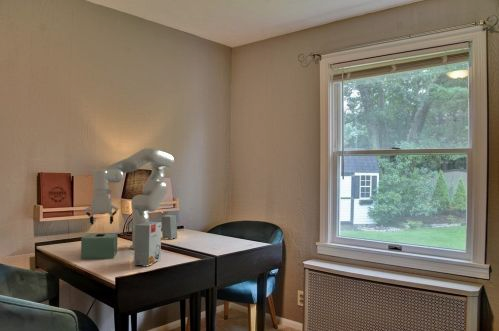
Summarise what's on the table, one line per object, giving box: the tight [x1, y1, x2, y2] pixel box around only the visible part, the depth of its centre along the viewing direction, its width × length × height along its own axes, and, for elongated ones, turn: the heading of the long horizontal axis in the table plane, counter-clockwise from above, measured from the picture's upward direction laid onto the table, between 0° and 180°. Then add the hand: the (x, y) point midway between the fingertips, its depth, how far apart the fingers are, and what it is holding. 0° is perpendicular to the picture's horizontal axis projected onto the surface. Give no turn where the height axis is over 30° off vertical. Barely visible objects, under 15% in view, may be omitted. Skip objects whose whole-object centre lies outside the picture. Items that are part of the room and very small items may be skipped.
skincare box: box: [161, 214, 178, 240], centre depth 269 cm, size 8×7×16 cm
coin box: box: [80, 232, 119, 260], centre depth 214 cm, size 16×16×11 cm
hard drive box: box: [133, 221, 162, 265], centre depth 199 cm, size 16×8×20 cm, turn 170°
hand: (101, 224), depth 215 cm, fingers open, 9 cm apart
